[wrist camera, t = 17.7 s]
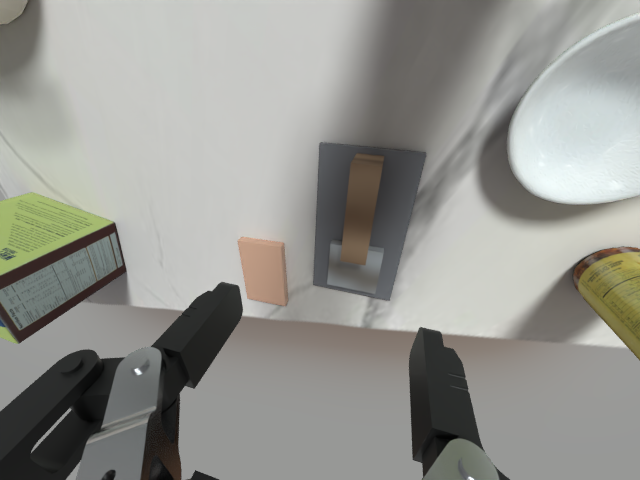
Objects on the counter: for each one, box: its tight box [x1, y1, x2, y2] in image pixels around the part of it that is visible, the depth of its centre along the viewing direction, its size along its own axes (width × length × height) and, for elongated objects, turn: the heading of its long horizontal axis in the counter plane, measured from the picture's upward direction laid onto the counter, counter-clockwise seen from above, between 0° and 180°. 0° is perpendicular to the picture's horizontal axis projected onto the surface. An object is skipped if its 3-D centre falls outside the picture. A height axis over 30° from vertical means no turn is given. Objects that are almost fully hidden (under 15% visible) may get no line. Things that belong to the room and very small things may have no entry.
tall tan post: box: [327, 153, 384, 294], centre depth 27 cm, size 16×6×4 cm, turn 177°
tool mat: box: [313, 142, 426, 301], centre depth 29 cm, size 18×10×1 cm, turn 177°
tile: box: [238, 237, 288, 306], centre depth 36 cm, size 2×6×10 cm
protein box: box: [0, 192, 126, 344], centre depth 36 cm, size 10×15×16 cm
